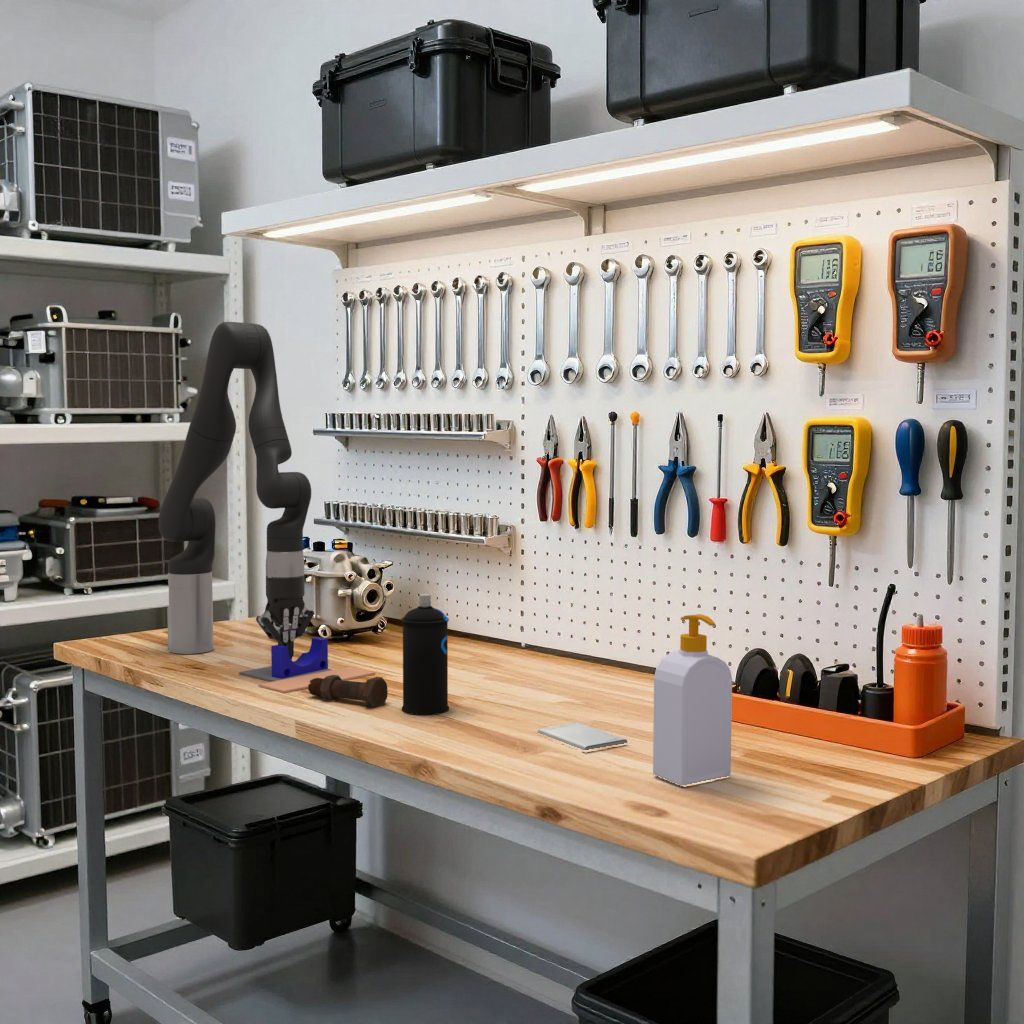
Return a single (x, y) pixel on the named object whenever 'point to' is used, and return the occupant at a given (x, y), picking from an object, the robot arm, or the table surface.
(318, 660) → the blue cradle block
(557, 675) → the table surface
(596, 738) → the hard drive
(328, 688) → the bolt
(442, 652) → the aerosol can
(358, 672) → the t mat
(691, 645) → the soap bottle
